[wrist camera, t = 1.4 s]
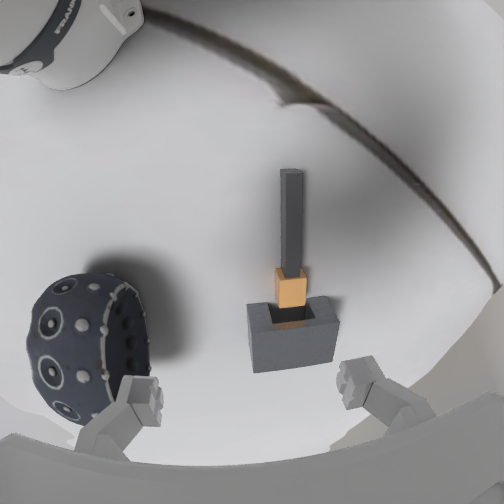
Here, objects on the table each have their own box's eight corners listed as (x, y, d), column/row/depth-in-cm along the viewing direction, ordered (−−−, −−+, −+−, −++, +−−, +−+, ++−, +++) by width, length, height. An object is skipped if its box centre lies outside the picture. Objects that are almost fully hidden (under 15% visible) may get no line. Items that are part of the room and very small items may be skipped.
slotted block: (246, 304, 42) (251, 333, 36) (325, 295, 43) (340, 322, 37) (249, 343, 45) (253, 373, 39) (320, 334, 46) (332, 361, 40)
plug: (273, 169, 34) (279, 174, 31) (302, 168, 34) (310, 173, 31) (275, 294, 42) (279, 308, 39) (299, 292, 42) (304, 305, 39)
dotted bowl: (136, 245, 36) (79, 351, 18) (159, 354, 45) (144, 459, 27) (69, 248, 35) (-7, 338, 17) (103, 351, 43) (72, 446, 25)
